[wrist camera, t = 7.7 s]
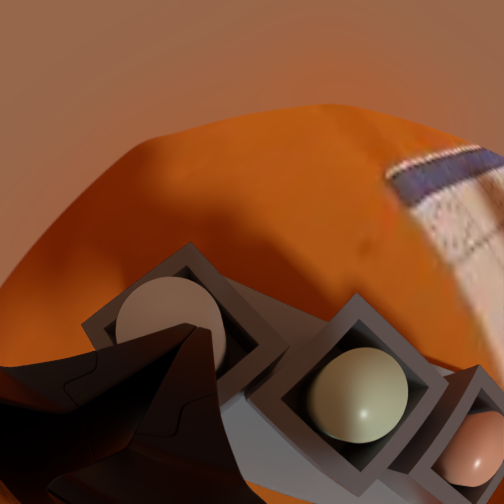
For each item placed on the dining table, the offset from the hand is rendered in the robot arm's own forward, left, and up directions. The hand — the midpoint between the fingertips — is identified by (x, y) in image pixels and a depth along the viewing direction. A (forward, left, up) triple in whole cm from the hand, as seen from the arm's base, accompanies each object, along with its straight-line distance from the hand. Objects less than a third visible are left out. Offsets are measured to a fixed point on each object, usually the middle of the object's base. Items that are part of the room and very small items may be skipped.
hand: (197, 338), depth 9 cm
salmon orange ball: (+5, -12, -6) cm, 14 cm away
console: (+2, -5, -10) cm, 12 cm away
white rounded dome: (-1, +1, -5) cm, 5 cm away
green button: (+3, -5, -6) cm, 8 cm away
